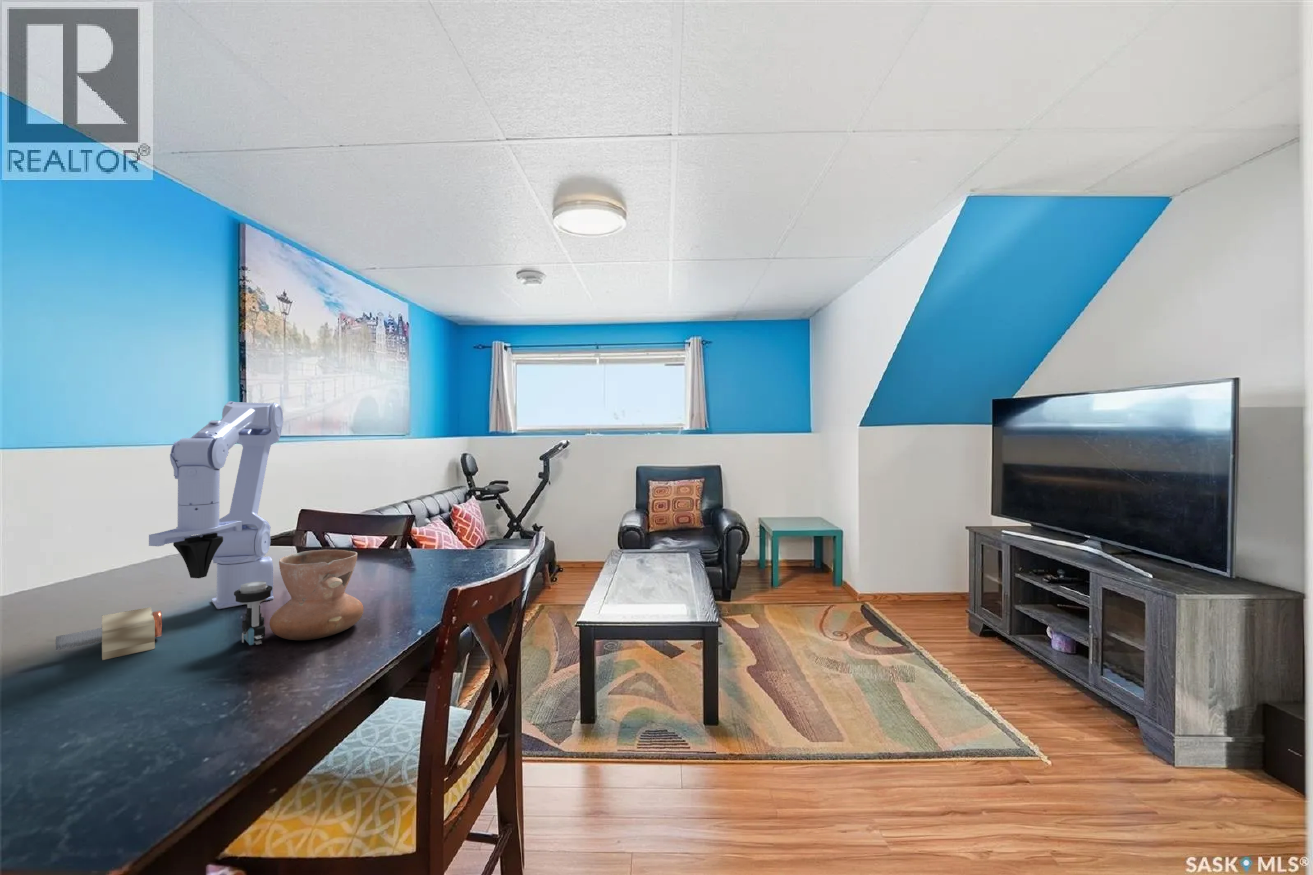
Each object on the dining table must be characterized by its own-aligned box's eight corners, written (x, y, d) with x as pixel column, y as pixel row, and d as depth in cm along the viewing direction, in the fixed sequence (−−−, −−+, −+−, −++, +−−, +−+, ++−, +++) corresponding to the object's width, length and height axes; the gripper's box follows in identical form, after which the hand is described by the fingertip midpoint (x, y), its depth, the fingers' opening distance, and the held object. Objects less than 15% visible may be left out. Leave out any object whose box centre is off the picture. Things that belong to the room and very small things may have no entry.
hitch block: (150, 632, 93) (150, 607, 93) (154, 648, 86) (154, 621, 86) (101, 642, 88) (101, 615, 88) (102, 660, 81) (102, 631, 81)
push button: (277, 642, 89) (278, 585, 89) (238, 652, 85) (239, 592, 85) (267, 632, 94) (268, 578, 94) (230, 640, 90) (231, 584, 89)
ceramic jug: (378, 632, 94) (380, 555, 95) (285, 657, 83) (286, 570, 83) (342, 611, 106) (343, 542, 106) (255, 630, 95) (257, 554, 95)
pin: (159, 632, 92) (159, 607, 91) (161, 639, 89) (162, 614, 89) (56, 653, 83) (56, 625, 83) (55, 661, 80) (55, 633, 80)
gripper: (221, 497, 101) (220, 565, 102) (134, 508, 87) (134, 587, 87) (251, 499, 100) (250, 567, 100) (167, 509, 86) (167, 590, 86)
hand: (198, 577), depth 94 cm, fingers closed
